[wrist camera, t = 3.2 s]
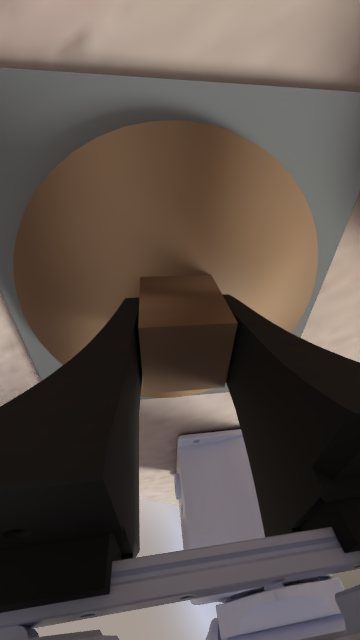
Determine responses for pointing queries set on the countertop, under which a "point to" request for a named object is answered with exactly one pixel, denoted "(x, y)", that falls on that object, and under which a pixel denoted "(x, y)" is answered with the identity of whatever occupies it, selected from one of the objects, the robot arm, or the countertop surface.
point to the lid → (165, 248)
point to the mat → (163, 105)
